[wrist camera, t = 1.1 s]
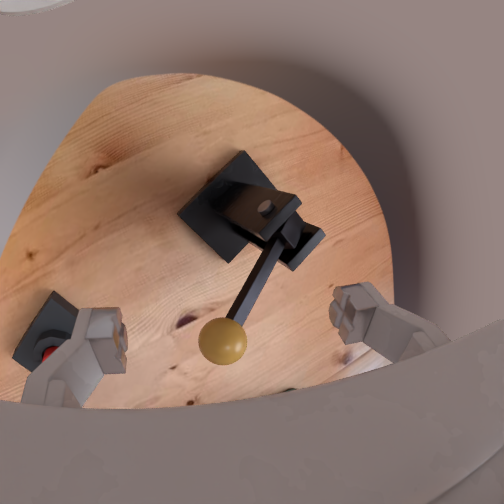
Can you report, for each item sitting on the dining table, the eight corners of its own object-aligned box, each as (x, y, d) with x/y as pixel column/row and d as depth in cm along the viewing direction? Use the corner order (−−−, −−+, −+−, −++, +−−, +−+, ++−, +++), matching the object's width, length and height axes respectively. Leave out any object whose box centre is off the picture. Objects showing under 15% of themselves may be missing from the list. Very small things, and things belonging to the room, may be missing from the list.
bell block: (70, 386, 35) (69, 404, 32) (15, 349, 30) (9, 366, 27) (113, 335, 36) (114, 352, 33) (54, 290, 31) (48, 304, 28)
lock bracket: (225, 260, 40) (279, 312, 27) (176, 213, 35) (211, 248, 22) (282, 201, 41) (357, 224, 28) (240, 150, 36) (308, 149, 23)
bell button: (64, 376, 31) (63, 385, 29) (39, 359, 29) (36, 368, 27) (78, 358, 31) (77, 366, 30) (52, 340, 29) (50, 348, 28)
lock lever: (214, 366, 23) (242, 378, 21) (181, 345, 22) (207, 356, 19) (286, 233, 30) (316, 229, 27) (264, 207, 28) (294, 200, 25)
